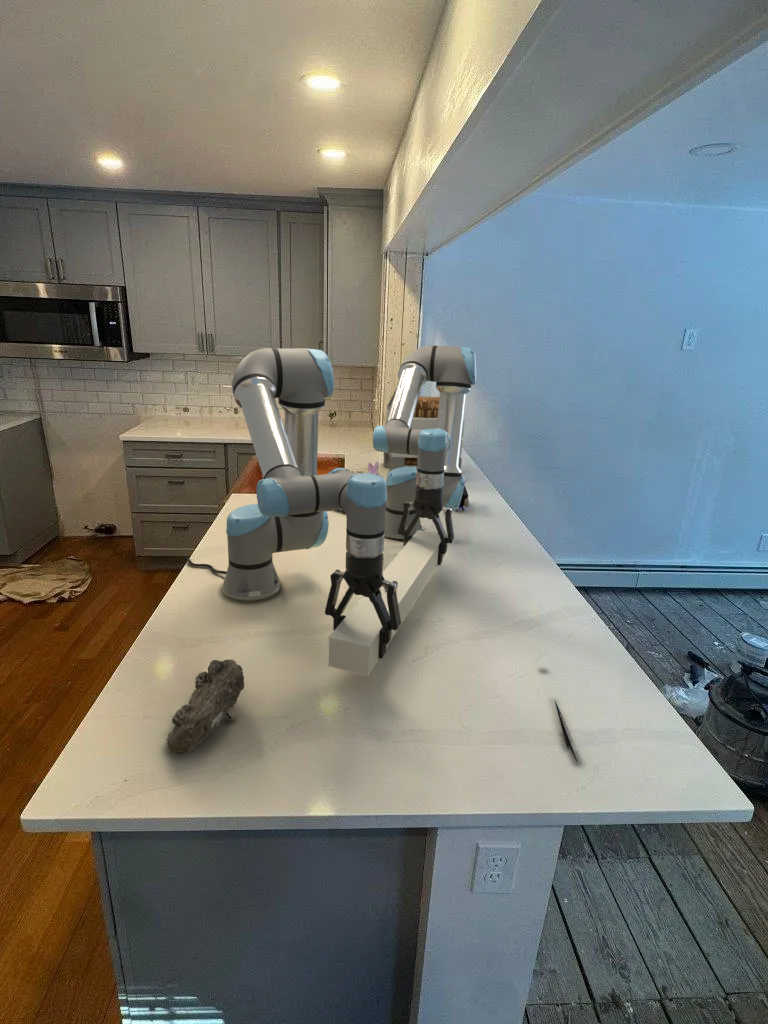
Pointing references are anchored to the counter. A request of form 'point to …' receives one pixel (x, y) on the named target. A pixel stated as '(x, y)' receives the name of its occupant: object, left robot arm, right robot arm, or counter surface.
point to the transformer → (422, 420)
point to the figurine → (373, 468)
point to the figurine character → (464, 500)
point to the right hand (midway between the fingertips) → (424, 560)
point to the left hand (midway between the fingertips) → (361, 649)
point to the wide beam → (361, 627)
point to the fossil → (206, 705)
